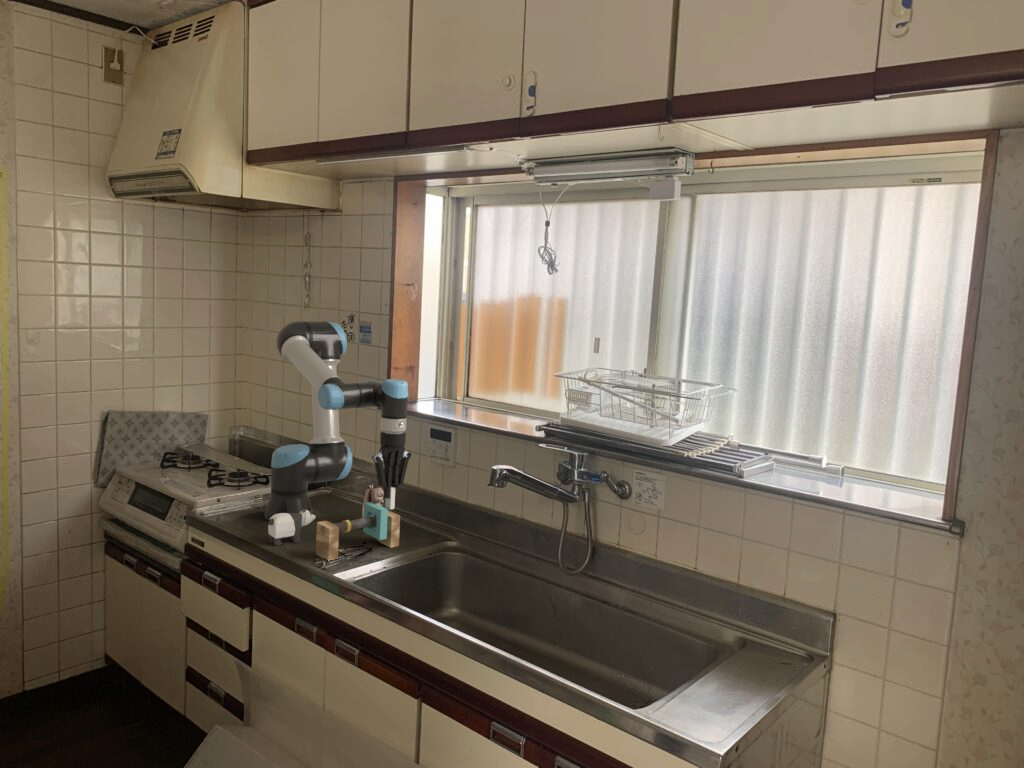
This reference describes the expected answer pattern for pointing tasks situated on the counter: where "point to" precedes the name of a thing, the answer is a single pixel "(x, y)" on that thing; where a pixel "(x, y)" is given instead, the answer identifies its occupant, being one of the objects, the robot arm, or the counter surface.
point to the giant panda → (288, 525)
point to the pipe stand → (330, 532)
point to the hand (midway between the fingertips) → (389, 507)
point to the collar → (382, 515)
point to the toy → (373, 497)
